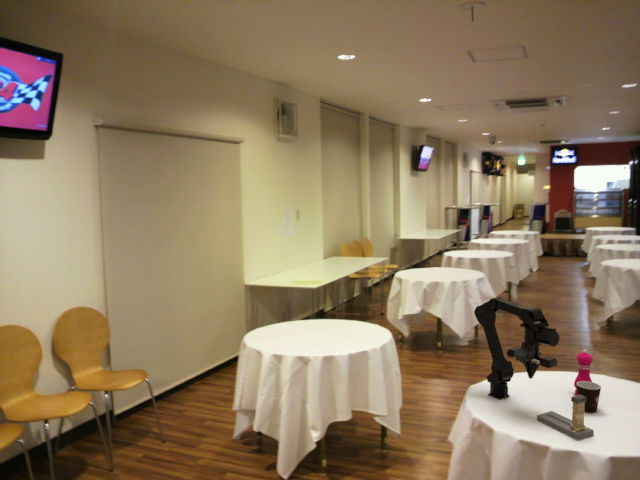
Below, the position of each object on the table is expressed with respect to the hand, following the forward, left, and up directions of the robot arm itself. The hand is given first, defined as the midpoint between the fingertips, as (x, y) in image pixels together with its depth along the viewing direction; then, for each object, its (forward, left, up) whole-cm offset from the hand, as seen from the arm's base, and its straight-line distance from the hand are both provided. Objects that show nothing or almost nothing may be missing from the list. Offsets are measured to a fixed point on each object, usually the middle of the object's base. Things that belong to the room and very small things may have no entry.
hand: (530, 378), depth 208 cm
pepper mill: (+5, +31, -13) cm, 34 cm away
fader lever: (+22, -5, -11) cm, 25 cm away
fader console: (+16, -4, -13) cm, 21 cm away
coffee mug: (+14, +20, -13) cm, 28 cm away
